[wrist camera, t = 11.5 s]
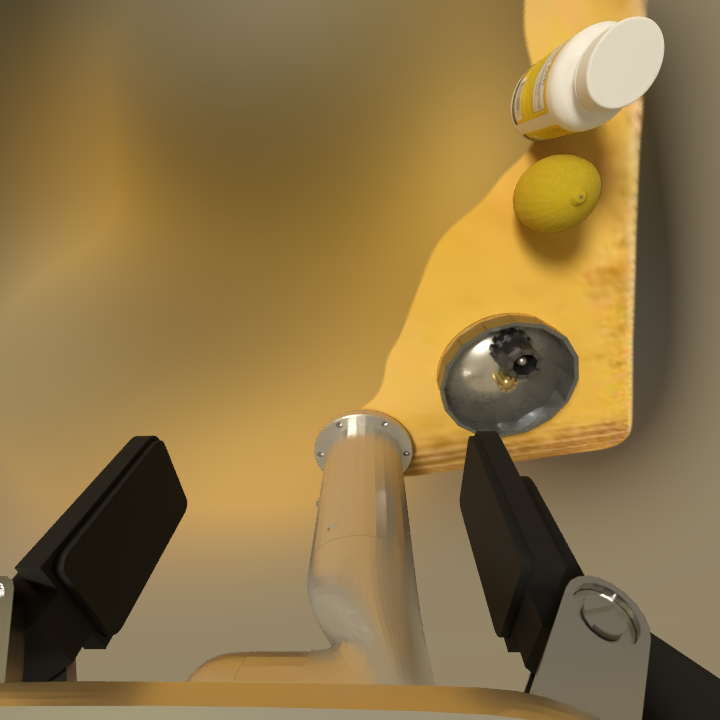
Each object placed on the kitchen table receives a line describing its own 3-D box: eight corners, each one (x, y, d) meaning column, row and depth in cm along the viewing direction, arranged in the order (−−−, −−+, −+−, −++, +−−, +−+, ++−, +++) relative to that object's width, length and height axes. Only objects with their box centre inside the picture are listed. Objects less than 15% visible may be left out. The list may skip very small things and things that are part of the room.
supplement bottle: (591, 102, 27) (695, 67, 19) (531, 157, 29) (600, 148, 20) (557, 38, 25) (654, -34, 17) (495, 101, 27) (554, 65, 19)
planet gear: (524, 362, 37) (542, 383, 33) (486, 363, 37) (499, 383, 33) (532, 327, 35) (552, 345, 31) (492, 328, 35) (506, 346, 31)
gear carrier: (508, 437, 43) (524, 466, 39) (413, 392, 40) (419, 418, 36) (592, 349, 37) (623, 372, 33) (488, 289, 34) (506, 305, 30)
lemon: (577, 170, 29) (643, 168, 22) (541, 234, 32) (590, 250, 25) (520, 146, 29) (570, 136, 22) (488, 213, 31) (523, 224, 24)
